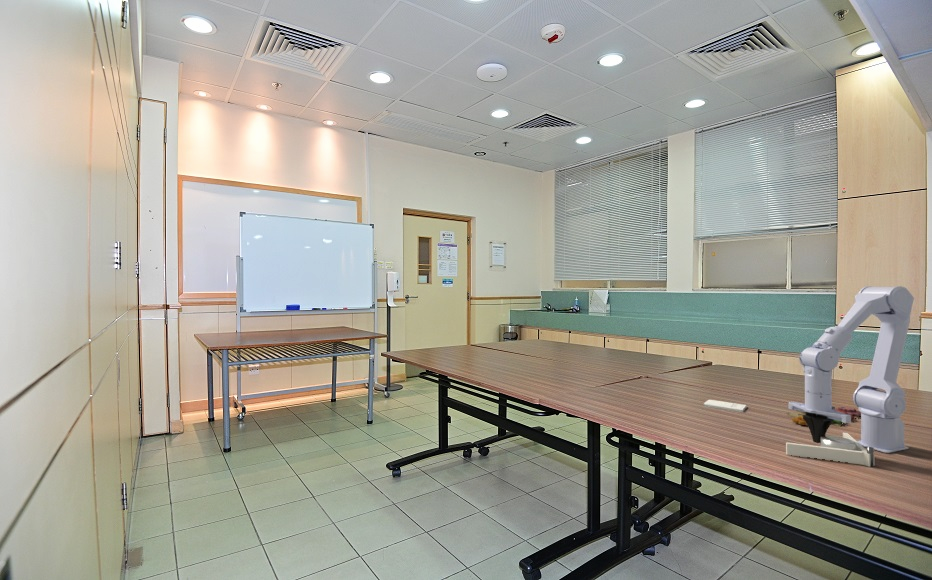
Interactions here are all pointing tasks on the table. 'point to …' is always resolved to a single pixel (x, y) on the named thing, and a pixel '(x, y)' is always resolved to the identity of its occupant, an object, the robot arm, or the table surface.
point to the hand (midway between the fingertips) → (818, 442)
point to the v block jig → (834, 452)
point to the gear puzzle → (847, 410)
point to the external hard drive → (725, 405)
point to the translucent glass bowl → (837, 442)
